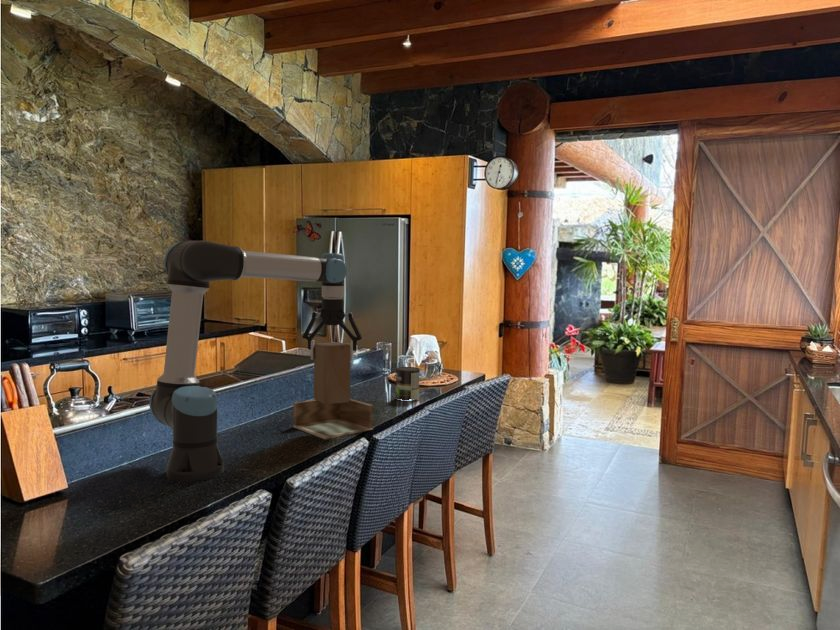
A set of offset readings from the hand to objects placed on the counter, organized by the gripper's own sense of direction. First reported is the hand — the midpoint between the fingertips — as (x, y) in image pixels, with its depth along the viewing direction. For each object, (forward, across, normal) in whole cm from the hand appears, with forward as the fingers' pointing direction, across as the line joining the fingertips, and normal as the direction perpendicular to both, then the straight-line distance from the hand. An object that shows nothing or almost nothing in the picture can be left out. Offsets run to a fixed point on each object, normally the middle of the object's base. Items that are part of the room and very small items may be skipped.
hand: (332, 359), depth 221 cm
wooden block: (+15, 0, +1) cm, 15 cm away
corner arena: (+25, 0, -3) cm, 25 cm away
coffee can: (+25, -23, -54) cm, 64 cm away
